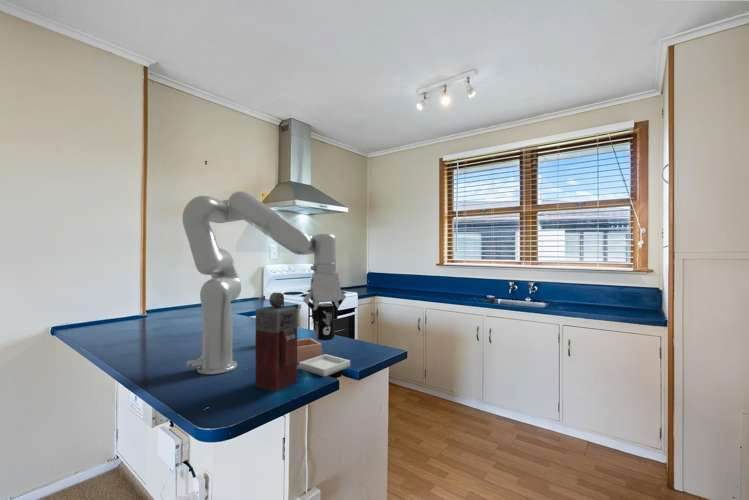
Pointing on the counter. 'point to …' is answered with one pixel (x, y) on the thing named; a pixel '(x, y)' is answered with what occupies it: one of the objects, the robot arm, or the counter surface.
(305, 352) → the holder
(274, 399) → the counter surface
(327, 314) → the beverage can
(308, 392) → the counter surface
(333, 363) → the tray
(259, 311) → the red decanter
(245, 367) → the counter surface
